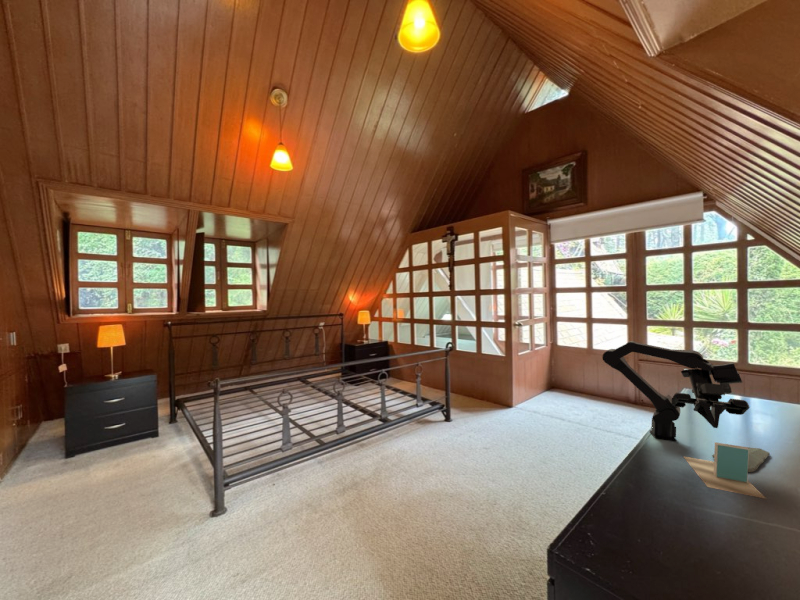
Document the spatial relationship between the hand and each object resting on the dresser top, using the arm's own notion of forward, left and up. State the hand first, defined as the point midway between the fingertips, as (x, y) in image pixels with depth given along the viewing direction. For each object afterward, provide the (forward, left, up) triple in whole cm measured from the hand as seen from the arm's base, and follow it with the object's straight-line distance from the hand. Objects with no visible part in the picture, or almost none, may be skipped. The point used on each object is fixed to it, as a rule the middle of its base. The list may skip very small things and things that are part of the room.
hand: (715, 427), depth 104 cm
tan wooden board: (-3, -9, -12) cm, 15 cm away
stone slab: (+11, +7, -12) cm, 17 cm away
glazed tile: (-1, -10, -11) cm, 15 cm away
